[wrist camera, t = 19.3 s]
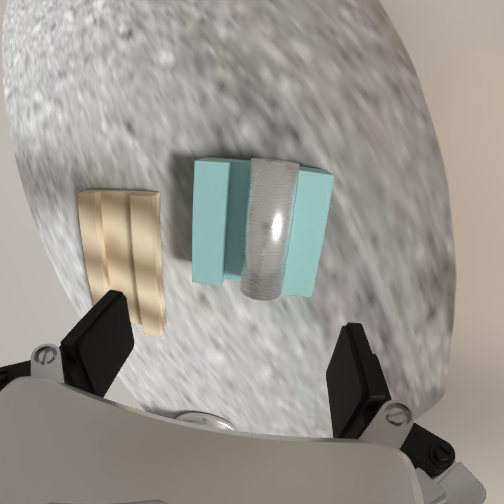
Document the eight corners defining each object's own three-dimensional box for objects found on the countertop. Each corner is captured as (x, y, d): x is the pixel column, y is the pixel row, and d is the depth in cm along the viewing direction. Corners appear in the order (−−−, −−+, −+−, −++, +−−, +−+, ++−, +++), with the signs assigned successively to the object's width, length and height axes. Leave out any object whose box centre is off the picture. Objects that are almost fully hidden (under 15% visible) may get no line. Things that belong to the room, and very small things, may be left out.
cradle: (308, 277, 31) (311, 296, 28) (202, 264, 32) (192, 281, 28) (326, 170, 26) (333, 175, 23) (206, 157, 27) (194, 160, 23)
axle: (271, 276, 30) (288, 297, 26) (234, 280, 28) (247, 302, 25) (286, 160, 25) (308, 166, 21) (244, 157, 23) (261, 162, 20)
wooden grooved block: (166, 326, 36) (160, 336, 34) (105, 312, 37) (97, 321, 35) (159, 192, 29) (151, 196, 27) (88, 188, 29) (77, 193, 27)
